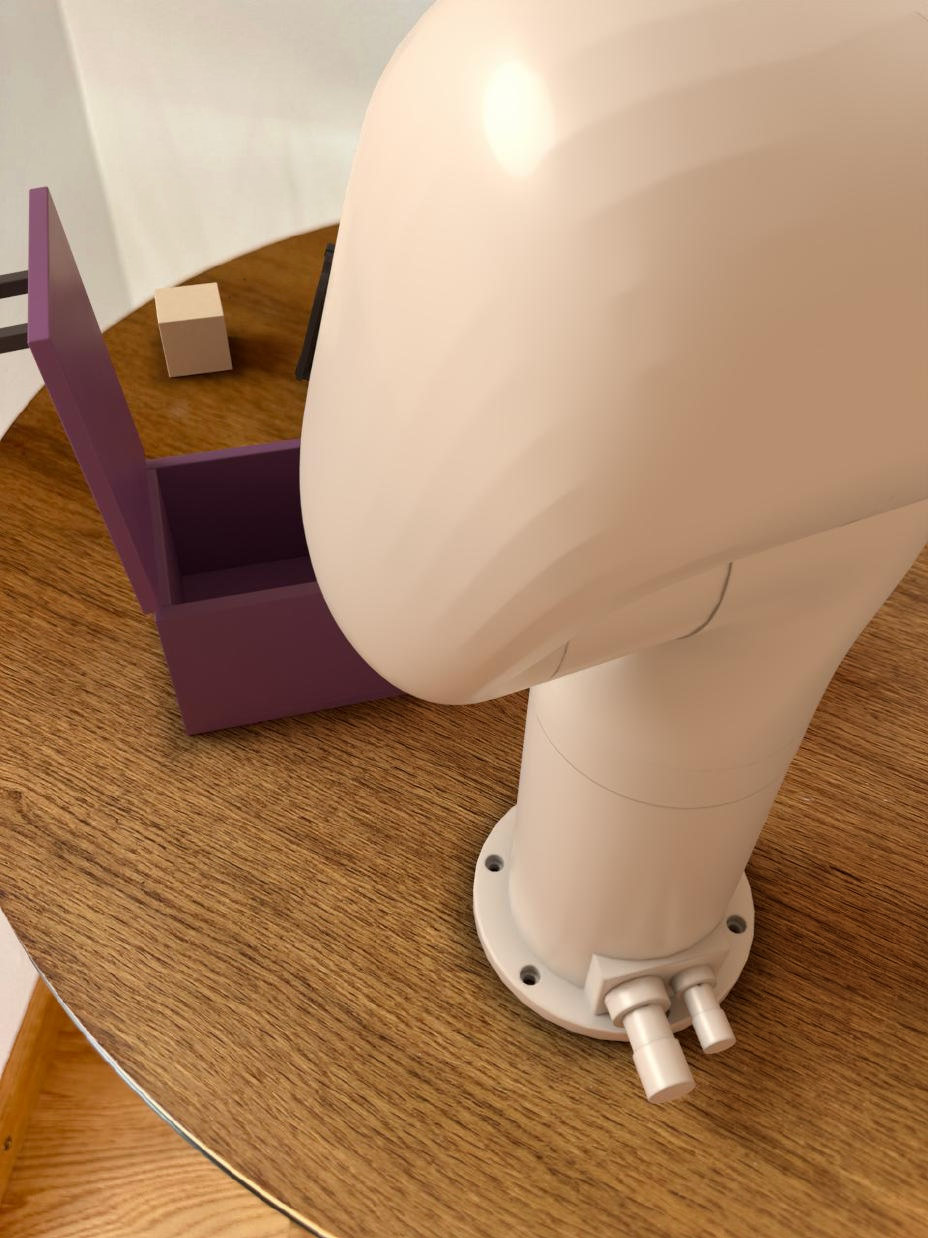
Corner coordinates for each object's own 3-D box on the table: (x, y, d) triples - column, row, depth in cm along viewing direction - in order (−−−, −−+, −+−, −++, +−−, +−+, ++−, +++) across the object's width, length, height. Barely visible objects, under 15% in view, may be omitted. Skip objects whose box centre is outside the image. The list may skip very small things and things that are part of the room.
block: (232, 369, 77) (224, 315, 73) (169, 377, 76) (158, 322, 73) (225, 335, 79) (217, 281, 76) (164, 343, 79) (153, 288, 75)
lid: (47, 184, 45) (-76, 206, 44) (50, 337, 37) (-99, 366, 37) (145, 451, 56) (47, 472, 55) (161, 611, 48) (48, 638, 48)
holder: (398, 541, 65) (394, 424, 59) (444, 687, 58) (447, 570, 51) (169, 578, 63) (139, 460, 56) (186, 736, 55) (154, 620, 49)
